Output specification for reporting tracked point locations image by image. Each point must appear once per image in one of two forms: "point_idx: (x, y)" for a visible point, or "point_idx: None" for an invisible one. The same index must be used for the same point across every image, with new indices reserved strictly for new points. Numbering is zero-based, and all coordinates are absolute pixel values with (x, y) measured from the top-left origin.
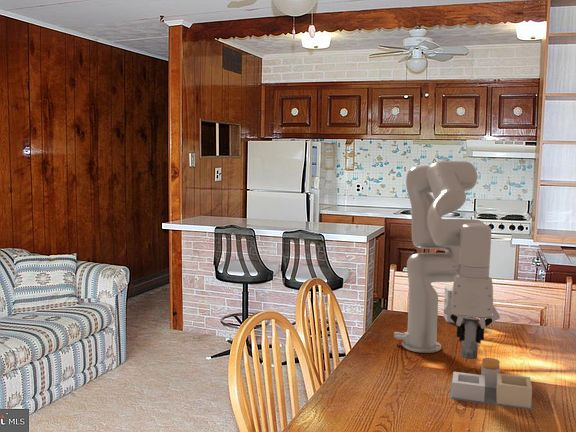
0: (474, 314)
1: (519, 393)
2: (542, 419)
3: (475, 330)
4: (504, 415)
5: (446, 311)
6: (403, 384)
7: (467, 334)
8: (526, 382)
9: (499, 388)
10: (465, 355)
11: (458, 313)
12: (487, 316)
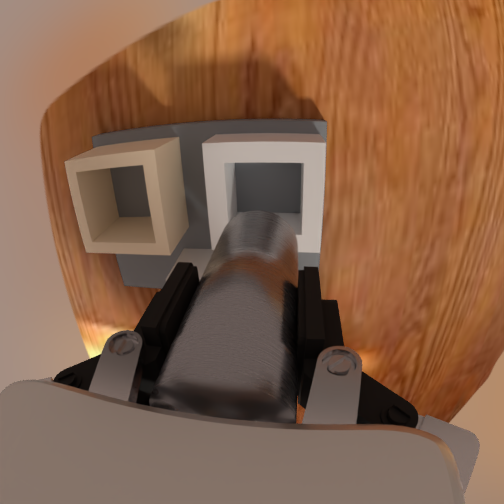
0: (139, 433)
1: (103, 151)
2: (82, 124)
3: (190, 318)
4: (162, 101)
5: (458, 452)
6: (444, 231)
7: (258, 291)
8: (85, 210)
9: (154, 147)
10: (275, 221)
11: (373, 444)
12: (24, 385)
